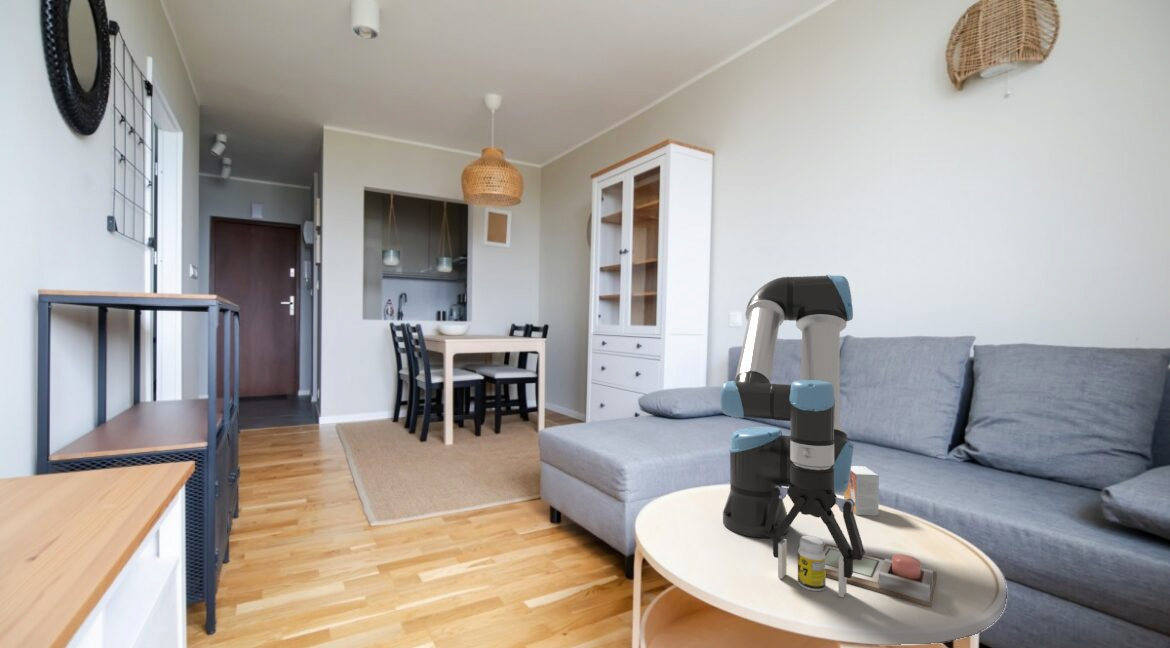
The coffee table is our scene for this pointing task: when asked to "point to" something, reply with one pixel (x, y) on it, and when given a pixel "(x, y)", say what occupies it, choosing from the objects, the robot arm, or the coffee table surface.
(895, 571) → the button
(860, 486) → the small box
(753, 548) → the coffee table surface
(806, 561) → the supplement bottle
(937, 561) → the coffee table surface
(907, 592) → the board
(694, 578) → the coffee table surface
